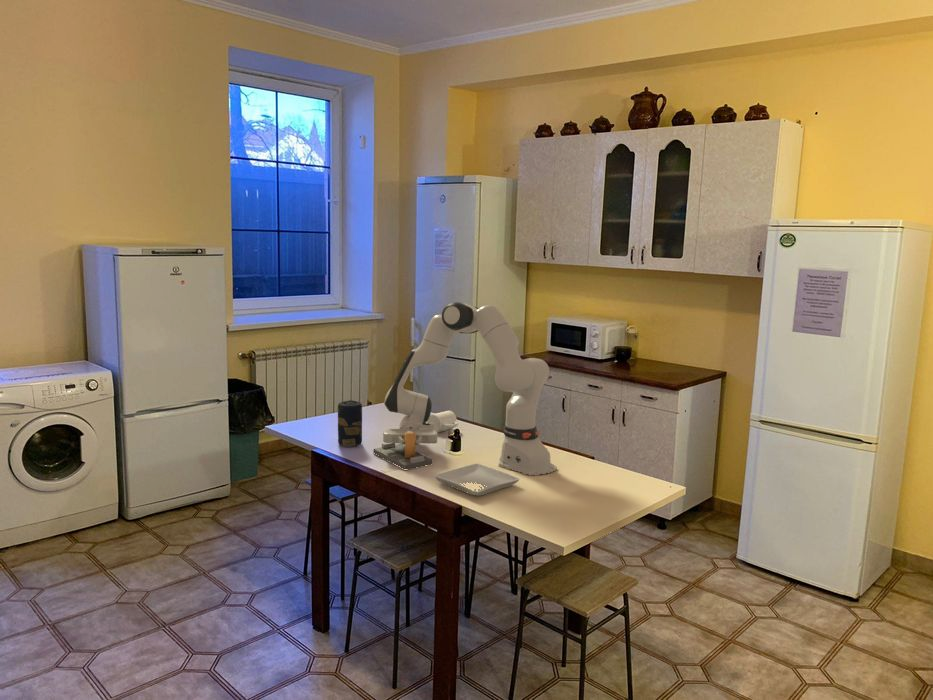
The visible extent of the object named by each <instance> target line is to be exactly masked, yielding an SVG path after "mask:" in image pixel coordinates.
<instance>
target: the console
mask: <svg viewBox="0 0 933 700" xmlns="http://www.w3.org/2000/svg"><path fill="white" fill-rule="evenodd" d="M374 453H375V454H377V455H379V456H380V457H382V458H384V459H386V460H388V461H390V462H392V463H394V464H396V465H398V466H400V467H401V468H403V469H409V470H411V469H410V468H414V469H417V468H416V467H419V468H422V467H421V466H423V467H426V466H425V465H428V466H432V465H433V458H431V457H428V456H427V455H424V454H422V453H421V452H418V451H417V450H415V457H413V458H406V457H405V445H401V443H385V442H383V443H381V446H380V447H377V448H373V454H374ZM375 454H374V455H375ZM377 455H376V456H377ZM380 457H379V458H380ZM382 458H381V459H382ZM384 459H383V460H384ZM386 460H385V461H386ZM388 461H387V462H388ZM390 462H389V463H390ZM392 463H391V464H392ZM431 464H432V465H431ZM401 468H400V469H401ZM403 469H402V470H403Z"/></svg>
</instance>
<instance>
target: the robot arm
mask: <svg viewBox="0 0 933 700" xmlns="http://www.w3.org/2000/svg"><path fill="white" fill-rule="evenodd" d="M458 333H460V334H475V333H479V334H480V335H481V338H483V341H484V342H485V344H486V345H487V347H488V350H489V351H490V353H491V354H492V357H493V360H494V363H495V369H496V371H495V373H494V374H495V375H494V382H495V385H496V386H497V388H498V389H499V390H501V391H502V392H507V393H512V394H511V397H510V398H509V400H508V401H507V403H506V407H505V424H504V427H503V435H504V438H503V443H502V446H501V448H502V449H501V454H500V458H499V462H498V467H500V466H502V467H501V468H504V467H505V468H504V469H507V468H508V469H507V470H510V469H512V470H511V471H513V470H515V471H514V472H516V471H518V472H517V473H520V472H522V473H521V474H523V473H525V474H524V475H526V474H529V475H528V476H530V475H535V476H541V475H540V474H543V475H546V473H548V474H550V472H551V473H554V472H556V471H557V469H558V467H557V466H556V465H555V464H554V463H552V461H551V454H550V453H551V452H550V451H549V450H548V448H546V446H545V445H544V443H543V442H542V441H541V440H540V438H539V435H541V430H538V429H537V426H536V417H537V408H538V407H537V406H538V401H539V398H540V395H541V392H542V389H543V387H544V386H545V383H546V382H547V380H548V379H549V377H550V367H549V364H548V363H547V362H546V361H545V360H544V359H542V358H541V359H540V358H537V357H529V358H521V355H520V353H519V346H520V340H519V338H518V337H517V335H516V334H515V332H514V330H513V328H512V327H511V325H510V323H509V322H508V321H507V319H506V317H505V316H504V315H503V314H502V313H501V312H500V310H499V309H497V307H496V306H494V305H492V304H487V305H483V306H481V307H480V308H478V307H477V306H474V305H470V304H469V303H465V302H464V303H463V302H457V301H455V302H451V303H449V304H447V305H445V306H444V308H443V309H442V312H441V314H436V315H434V316H433V317H432V318H431V319H430V321H429V323H428V325H427V327H426V330H425V332H424V335H423V337H422V340H421V343H420V344H419V345H418V347H416V348H413V349H412V350H410V351H409V352H408V354H407V356H406V358H405V360H404V362H403V364H401V365H402V366H401V367H400V370H399V371H398V373H397V375H396V377H395V379H394V382H393V384H392V385H391V387H390V388H389V389H388V391H387V393H386V394H385V397H384V403H383V404H384V407H385V408H386V409H387V410H388V412H391V413H396V414H402V415H403V416H402V417H401V419H400V422H399V428H387V429H386V430H384V431H383V433H382V434H383V438H382V441H383V443H395V444H401V445H404V446H405V432H407V431H413V432H416V446H418V445H419V446H420V444H437V443H438V433H437V431H436V429H435V428H433V425H432V424H428V419H429V417H430V415H431V414H432V408H433V407H432V406H433V404H432V403H433V402H432V400H431V398H430V396H429V395H426V394H424V393H419V392H415V391H412V390H409V389H405V388H404V386H405V383H406V382H407V379H408V377H409V375H410V374H411V371H413V370H414V369H416V368H417V367H422V366H433V365H437V364H438V365H439V364H440V363H442V362H444V361H445V359H446V358H447V356H448V355H449V352H450V348H451V345H452V342H453V338H454V337H455V336H456V334H458ZM553 471H554V472H553Z"/></svg>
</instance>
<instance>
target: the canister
mask: <svg viewBox="0 0 933 700" xmlns="http://www.w3.org/2000/svg"><path fill="white" fill-rule="evenodd" d="M337 437H338V439H337V442H338V444H339V445H340V446H342V445H343V446H342V447H347V446H352V447H357V446H360V445H361V444H362V442H363V405H362V403H361V402H360V401H357V400H352V399H350V400H349V399H348V400H344V401H341V402H339V403H338V404H337Z"/></svg>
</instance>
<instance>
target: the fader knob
mask: <svg viewBox="0 0 933 700" xmlns="http://www.w3.org/2000/svg"><path fill="white" fill-rule="evenodd" d="M404 446H405V457H406V458H413V457H415V451H417V450H416V446H417V445H416V432H413V431H407V432H405V445H404Z"/></svg>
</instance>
